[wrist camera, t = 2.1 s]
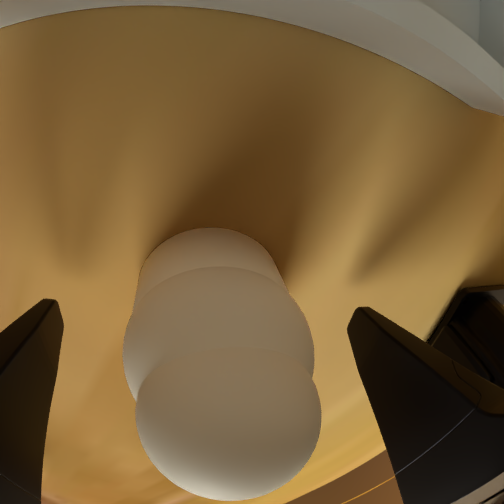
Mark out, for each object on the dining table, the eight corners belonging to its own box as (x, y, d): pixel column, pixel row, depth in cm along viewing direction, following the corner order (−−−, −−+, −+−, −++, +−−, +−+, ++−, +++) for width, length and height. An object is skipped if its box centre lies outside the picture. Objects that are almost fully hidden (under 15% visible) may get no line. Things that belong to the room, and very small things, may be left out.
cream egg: (296, 230, 9) (420, 418, 3) (265, 342, 11) (317, 499, 6) (132, 219, 7) (73, 456, 2) (139, 340, 10) (136, 515, 4)
